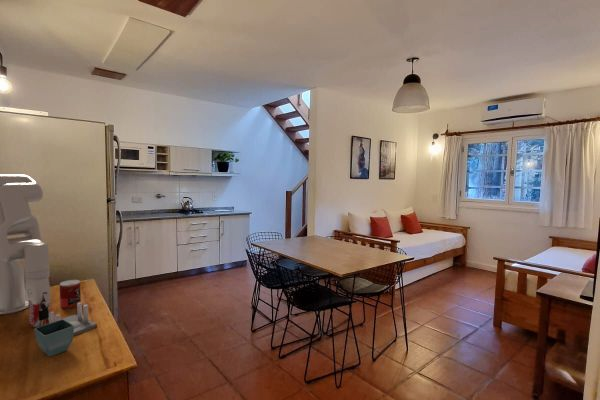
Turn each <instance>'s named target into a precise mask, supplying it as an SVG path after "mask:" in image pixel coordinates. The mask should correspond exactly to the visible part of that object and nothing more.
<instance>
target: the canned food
mask: <svg viewBox="0 0 600 400" xmlns="http://www.w3.org/2000/svg"><path fill="white" fill-rule="evenodd" d="M81 297H82V296H81V280H79V279H68V280H64V281H61V282H60V283H59V302H60V304H59V306H60V308H61V309H65V310H66V309H67V310H68V309H74V308H77V303H80V302H81V301H82V299H81ZM81 303H82V302H81Z"/></svg>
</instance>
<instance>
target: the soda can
mask: <svg viewBox="0 0 600 400" xmlns="http://www.w3.org/2000/svg"><path fill="white" fill-rule="evenodd" d="M41 302H44V300H42V301H41ZM28 304H29V307H28V320H29V321H28V323H29V327H32V328H37V327H40V326H43V325H46V324H49V318H47V319H44V320H41V321H39V314H38V311H40V310H39V306H38V305H35V304H32V302H31V300H29V301H28ZM44 304H45V303H44ZM44 304H41V305H42V306H43V305H44Z"/></svg>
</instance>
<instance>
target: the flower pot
mask: <svg viewBox="0 0 600 400" xmlns="http://www.w3.org/2000/svg"><path fill="white" fill-rule="evenodd" d="M61 319H62V320H58V321H56V322H55V321H54V322H53V323H50V324H49V323H47V325H44V326H41V327H34V330H33V331H34V335H35V339H36V343H37V345H38V347H39V349H40V350H41V351H42V352H43V353H44V354H46V355H47V356H48V357H54V356H56V355H59V354H60V353H63V352H66V351H67V350H68V349H69V348H70V346H71V345H72V343H73V339H74V336H73V333H74V325H73V324H71V323H69V322H68V321H66V320H64V319H63V318H61Z"/></svg>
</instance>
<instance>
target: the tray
mask: <svg viewBox="0 0 600 400" xmlns="http://www.w3.org/2000/svg"><path fill="white" fill-rule="evenodd" d="M76 308H77V309H76V310H77V313H76V314H72V315H70V316H67V317H64V318H61V314H60V313H58V314H57V313H56V314H55V311H49V322H48V323H47V324H50V323H53V322H56V321H58V320H62V319H64V320H66V321H68V322H69V323H71V324H73V325H74V333H73V337H74V336H76V335H77V336H78V335H79V334H82V333H84V332H86V331H90V330H92V329H95V328H96V327H98V323H97V322H94V321H91V320H90V319H89V305H88V304H84V305H83V303H82V302H80V303H77V307H76ZM47 324H46V325H47ZM43 326H44V325H43ZM40 327H41V326H40Z"/></svg>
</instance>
